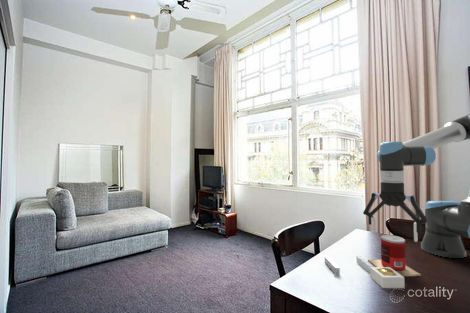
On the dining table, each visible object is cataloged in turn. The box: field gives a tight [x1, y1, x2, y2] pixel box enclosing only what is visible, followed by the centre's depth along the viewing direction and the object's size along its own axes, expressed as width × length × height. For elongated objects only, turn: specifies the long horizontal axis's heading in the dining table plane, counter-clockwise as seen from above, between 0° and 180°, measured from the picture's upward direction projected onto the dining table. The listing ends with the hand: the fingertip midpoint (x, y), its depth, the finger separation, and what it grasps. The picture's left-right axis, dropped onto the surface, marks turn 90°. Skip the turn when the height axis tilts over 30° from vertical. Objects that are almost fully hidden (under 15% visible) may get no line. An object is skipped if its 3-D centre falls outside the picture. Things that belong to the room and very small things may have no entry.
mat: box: [367, 259, 422, 277], centre depth 88 cm, size 12×12×1 cm
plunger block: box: [369, 266, 405, 289], centre depth 78 cm, size 7×7×4 cm
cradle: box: [324, 255, 374, 276], centre depth 88 cm, size 14×10×2 cm
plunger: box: [380, 268, 394, 275], centre depth 78 cm, size 4×4×3 cm
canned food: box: [380, 234, 407, 271], centre depth 88 cm, size 8×8×11 cm
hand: (393, 236), depth 88 cm, fingers open, 13 cm apart
